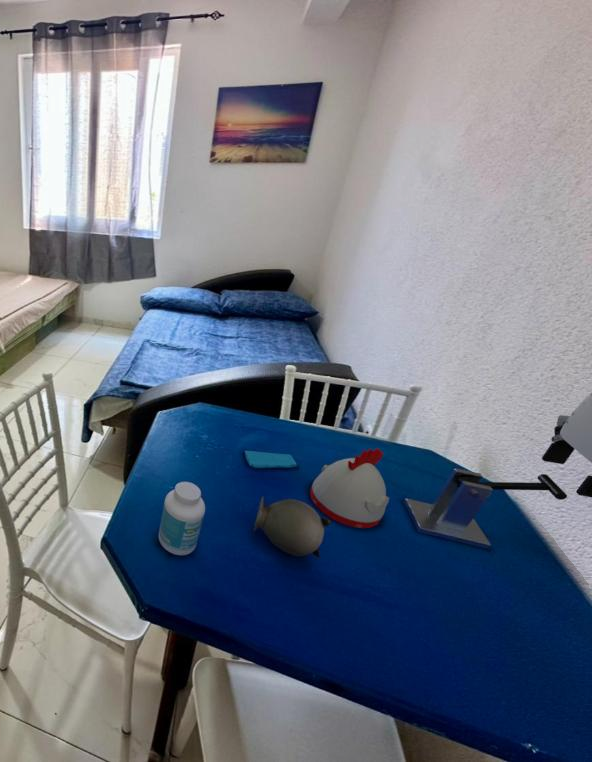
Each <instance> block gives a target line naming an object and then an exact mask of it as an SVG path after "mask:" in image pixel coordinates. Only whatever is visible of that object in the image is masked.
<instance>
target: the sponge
mask: <svg viewBox="0 0 592 762" xmlns="http://www.w3.org/2000/svg"><path fill="white" fill-rule="evenodd" d="M244 457H245V459H246V461H247V464H248V465H249V467H251V468H254V469H275V468H276V469H290V468H291V469H292V468H296V467H297V466H298V464H297V462H296V460H295V459H294V457H293V455H292V454H288V453H282V454H281V453H275V452H263V451H253V450H244Z"/></svg>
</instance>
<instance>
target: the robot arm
mask: <svg viewBox="0 0 592 762" xmlns="http://www.w3.org/2000/svg"><path fill="white" fill-rule="evenodd" d="M553 430H554V435H553V436H551V439H550V440H551V443H550V445H549V447H548V448H547V449H546V451H545V452H544V454H543V455H542V457H541V460H542V461H543V462H547V463H553V464H559V465H564V464H565V463H566V462H567V461H568V460H569V458H570V456H571V455H572V454H573V452H574V451H576V452H578V453H579V454H580V455H581V456H583V458H585V459H586V460H587V461H588V462H590V463H592V392H590V394H588V395H587V396H586V397H585V398H584V399H583V400H582V401H581V403H579V405H577V406H576V408H574V410H573V411H572V413H570V415H562V414H561V415H558V417H557V421H556V426H554V428H553ZM575 493H576V494H577V495H578V496H582V497H587V498H592V475H591V474H588V475H587V476H586V478H585V479H584V480H583V481H582V483H581V484H580V485H579V486H578V488H577V489H576V491H575Z"/></svg>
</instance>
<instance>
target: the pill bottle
mask: <svg viewBox="0 0 592 762" xmlns="http://www.w3.org/2000/svg"><path fill="white" fill-rule="evenodd" d="M201 496H202V492H201V489H200V487H198V485H196V484H195V483H193V482H189V481H180V482H178V483H177V484H176V485H175V487H174V489H173V490H171V491H169V492H168V493H167V495H166V496H165V499H164V503H163V509H162V514H161V519H160V524H159V529H158V530H159V531H158V540H159V541H158V542H159V543H160V545H161V546H162V547H163V548H164V550H166V551H167V552H169V553H171V554H173V555H176V556H187V555H189V554H191V553H193V552H194V551H195V549H196V547H197V544H198V540H199V536H200V533H201V528H202V525H203V521H204V517H205V513H206V504H205V501H204V500H203V498H202V497H201Z"/></svg>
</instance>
